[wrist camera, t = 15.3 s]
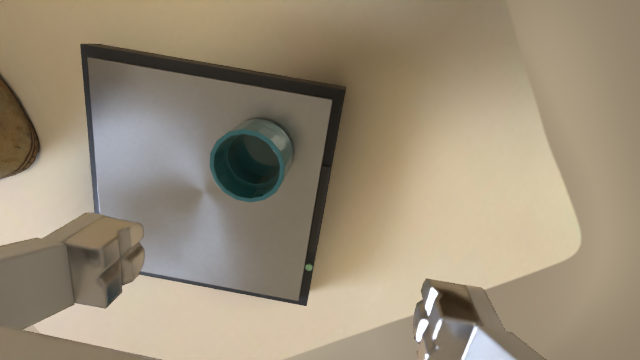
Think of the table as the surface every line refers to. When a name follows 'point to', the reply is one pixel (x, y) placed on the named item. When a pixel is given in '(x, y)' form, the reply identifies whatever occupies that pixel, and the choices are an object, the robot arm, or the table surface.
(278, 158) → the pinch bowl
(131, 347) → the table surface
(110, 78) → the scale
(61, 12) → the table surface
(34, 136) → the ceramic vessel
